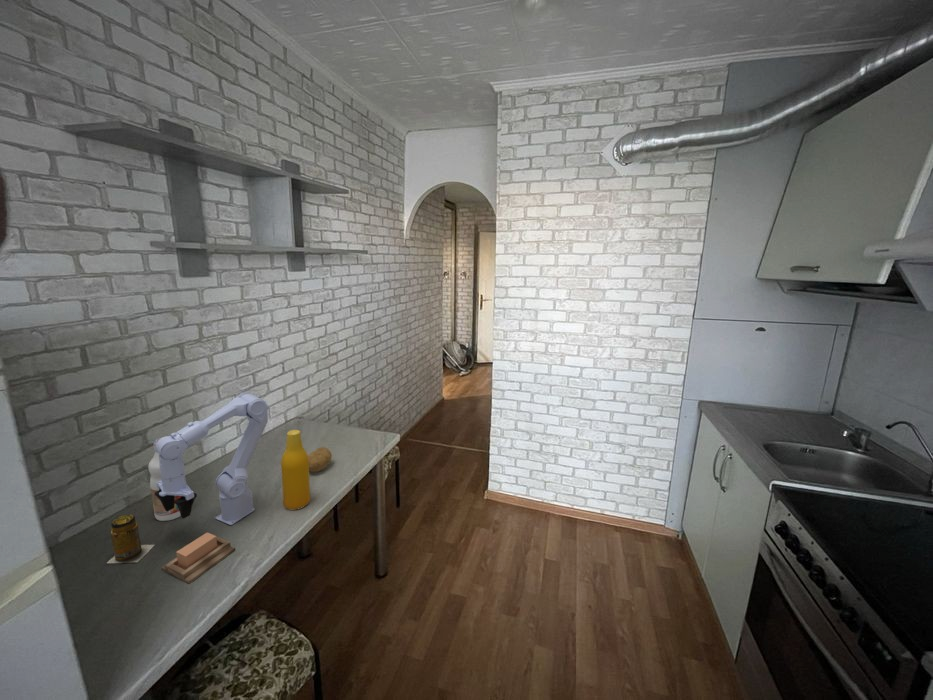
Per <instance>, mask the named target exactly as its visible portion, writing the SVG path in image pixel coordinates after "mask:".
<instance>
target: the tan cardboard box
mask: <svg viewBox="0 0 933 700" xmlns="http://www.w3.org/2000/svg"><path fill="white" fill-rule="evenodd" d="M214 535H215V534H213V535H212V533H210V532H208V531H207V532H205V533H204V534H202V535H201V536H199V537H198V538H195V539H194V540H193V541H191V542H190V543H188V544H186V545H185V546H183V547H182V548H181V549H178V550H177V551H176V552H175V553H176V557H177V561H178V567H180V568H182V569H184V570H186V569H187V568H189V567H190V566H192V565H193V564H195V563H196V562H197V561H199V560H200V559H202V558H203V557H205V556H206V555H208V554H209V553H210V552H212V551H213V550H215V549H216V548H217V539H216V536H217V535H215V536H214Z"/></svg>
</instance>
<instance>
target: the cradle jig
mask: <svg viewBox="0 0 933 700" xmlns="http://www.w3.org/2000/svg"><path fill="white" fill-rule="evenodd" d="M211 534H212V533H211ZM212 535H214V536H216V539H217V548H216V549H215V550H213V551H212V552H210V553H209V554H208V555H206V556H205V557H203V558H202V559H200V560H199V561H197V562H196V563H195V564H193V565H192V566H190V567H189V568H187V569H186V570H184V569H182V568H180V567H178V561H177V556H176V557H175V558H172V560H170V561H168V562H167V563H165V564H164V565H162V566H160V568H161V571H163V572H165V573H167V574H169V575H171V576H172V577H174V578H177V579H179V580H181V581H182V582H184V583H186V584H188V585H190V584H191V583H193V582H194V581H195V580H197V579H198V578H199V577H201V576H202V575H204V574H206V572H208V571H209V570H210V569H212V568H213V567H215V566H216V565H217V564H219V563H220V562H221V561H223V560H224V559H225V558H227V557H228V556H230V555H231V554H232V553H234V552H235V551H236V548H235V547H234V546H231V542H230V541H228V540H226V539H225V538H222V537H220V536H217V535H216V534H212Z"/></svg>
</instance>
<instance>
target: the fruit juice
mask: <svg viewBox="0 0 933 700" xmlns="http://www.w3.org/2000/svg"><path fill="white" fill-rule="evenodd" d="M161 438H162V437H160V438H157V439H155V440H153V443H152V445H153V448H154V447H155V445H156V443H157V442H158V440H160V439H161ZM159 455H160V454H159V453H157V452H156V451H155V450H154V455H153V457H152V458H151V460H149V463H148V467H147V468H148V469H147V470H148V472H149V474H150V477H149V478H150V479H149V486H150V492H151V499H152V500H151V501H152V506H153V514H154V517H155V519H156V520H157V521H159V522H168V521H172V520H176V519H178V518H180V517H181V515H180V511H179V508H178V507H177V505H176V504H175V506H174V508H173V509H171V510H169V511H168V512H167V511H166V510H165V509H164V507H163V505H162V503H161V501H160V500H159V498H158V497H157V496H155V495H154V493H155V492H157V491H159V489H158V488H157V485H156V483H157V482H159V481H161V473H160V466H159ZM179 498H181V496H175V500H177V499H179Z"/></svg>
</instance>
